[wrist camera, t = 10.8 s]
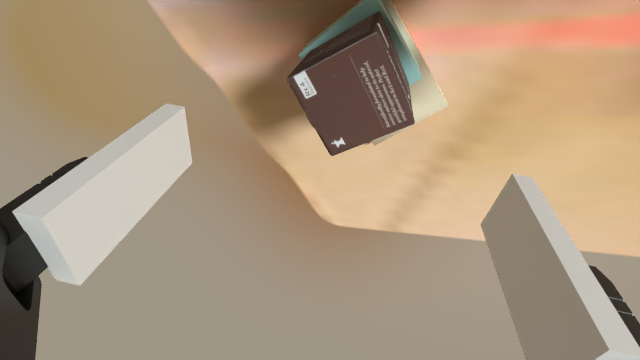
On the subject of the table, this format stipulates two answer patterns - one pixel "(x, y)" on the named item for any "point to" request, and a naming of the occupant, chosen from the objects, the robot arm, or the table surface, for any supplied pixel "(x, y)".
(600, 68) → the table surface
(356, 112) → the box
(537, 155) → the table surface
